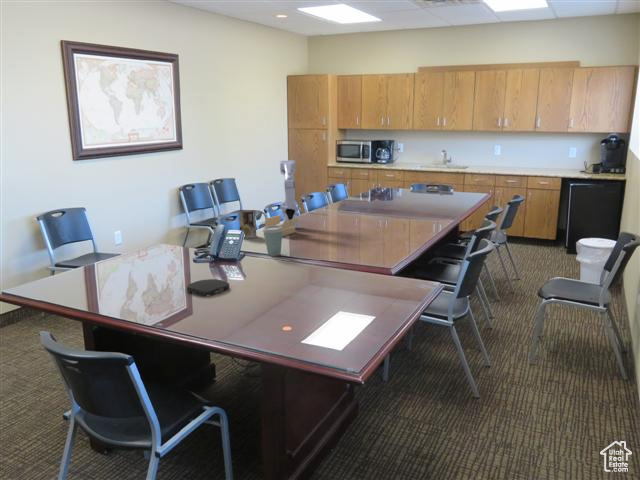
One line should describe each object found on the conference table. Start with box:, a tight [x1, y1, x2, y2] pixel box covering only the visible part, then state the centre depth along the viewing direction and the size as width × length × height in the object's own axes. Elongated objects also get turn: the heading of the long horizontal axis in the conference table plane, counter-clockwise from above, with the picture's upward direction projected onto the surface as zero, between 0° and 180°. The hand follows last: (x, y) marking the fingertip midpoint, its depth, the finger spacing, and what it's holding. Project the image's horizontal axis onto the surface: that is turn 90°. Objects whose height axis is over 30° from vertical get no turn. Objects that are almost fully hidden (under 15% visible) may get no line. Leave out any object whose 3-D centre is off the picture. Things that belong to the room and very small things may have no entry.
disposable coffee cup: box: [262, 224, 283, 257], centre depth 276 cm, size 11×11×15 cm
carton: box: [279, 224, 296, 237], centre depth 328 cm, size 18×12×4 cm
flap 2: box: [281, 217, 299, 229], centre depth 323 cm, size 15×1×6 cm
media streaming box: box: [186, 278, 230, 297], centre depth 221 cm, size 15×15×3 cm
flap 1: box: [264, 214, 282, 227], centre depth 330 cm, size 15×1×6 cm, turn 147°
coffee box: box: [238, 209, 258, 239], centre depth 319 cm, size 9×6×16 cm
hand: (290, 221), depth 322 cm, fingers closed, pressing on flap 2
